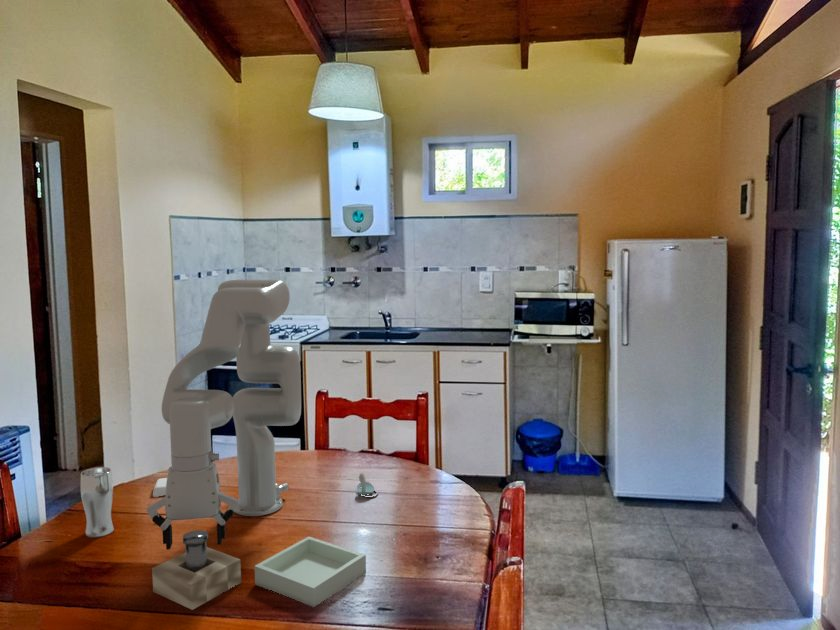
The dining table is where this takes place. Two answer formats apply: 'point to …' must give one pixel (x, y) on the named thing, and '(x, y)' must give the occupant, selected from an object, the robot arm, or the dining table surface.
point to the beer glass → (97, 500)
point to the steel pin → (195, 550)
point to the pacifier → (364, 486)
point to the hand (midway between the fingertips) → (194, 544)
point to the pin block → (196, 579)
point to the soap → (160, 487)
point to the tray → (310, 570)
